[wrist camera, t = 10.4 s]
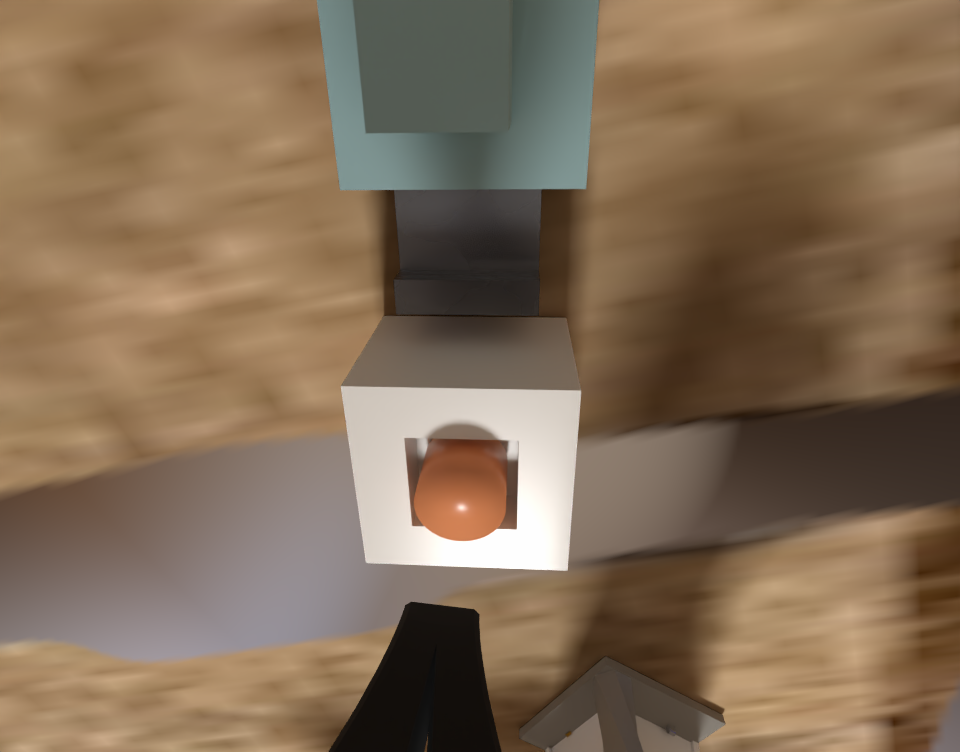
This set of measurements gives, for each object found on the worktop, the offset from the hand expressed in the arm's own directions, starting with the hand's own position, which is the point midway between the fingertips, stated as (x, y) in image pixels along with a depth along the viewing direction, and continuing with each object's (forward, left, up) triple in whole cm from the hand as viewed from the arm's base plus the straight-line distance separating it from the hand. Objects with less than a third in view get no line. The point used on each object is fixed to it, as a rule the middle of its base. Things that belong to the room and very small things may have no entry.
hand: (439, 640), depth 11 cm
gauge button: (0, 0, -6) cm, 6 cm away
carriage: (0, +10, -8) cm, 13 cm away
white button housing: (0, 0, -10) cm, 10 cm away
